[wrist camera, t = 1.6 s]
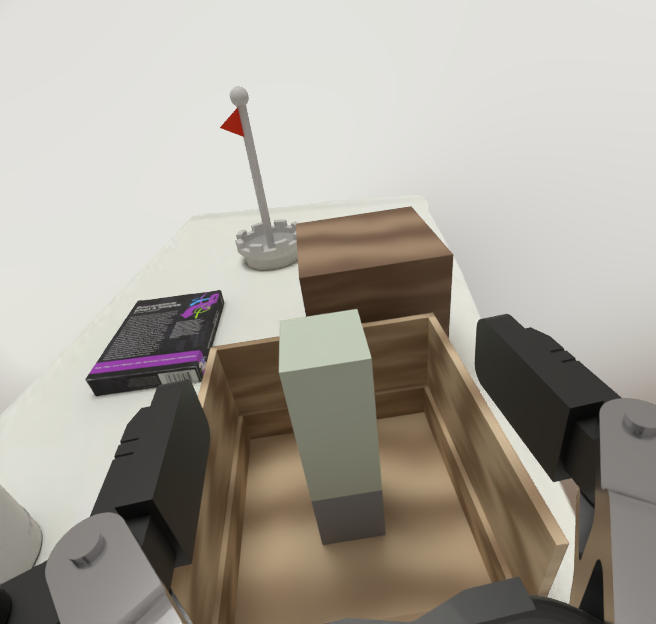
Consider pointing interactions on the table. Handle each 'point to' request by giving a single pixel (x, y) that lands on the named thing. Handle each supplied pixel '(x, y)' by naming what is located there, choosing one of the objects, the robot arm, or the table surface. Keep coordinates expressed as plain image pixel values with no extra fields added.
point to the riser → (375, 266)
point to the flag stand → (260, 204)
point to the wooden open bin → (397, 489)
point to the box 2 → (334, 421)
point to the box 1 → (159, 344)
